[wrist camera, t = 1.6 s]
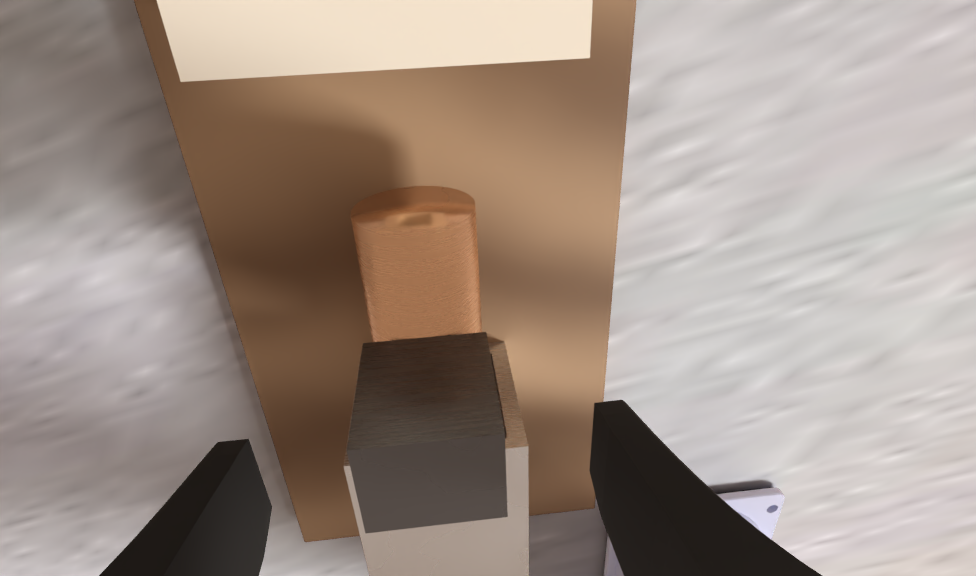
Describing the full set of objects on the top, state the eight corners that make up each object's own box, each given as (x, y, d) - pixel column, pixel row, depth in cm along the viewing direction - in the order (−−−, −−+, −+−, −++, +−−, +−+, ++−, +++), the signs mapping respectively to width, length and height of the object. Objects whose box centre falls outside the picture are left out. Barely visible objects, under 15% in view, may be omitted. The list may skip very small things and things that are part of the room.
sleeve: (509, 501, 23) (529, 620, 19) (390, 515, 23) (384, 638, 18) (504, 341, 19) (528, 446, 15) (360, 354, 19) (343, 466, 14)
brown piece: (489, 516, 22) (514, 708, 16) (411, 526, 21) (408, 723, 16) (470, 182, 15) (501, 310, 9) (356, 190, 15) (317, 326, 9)
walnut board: (588, 489, 24) (594, 508, 24) (309, 521, 24) (304, 542, 23) (637, -191, 13) (652, -203, 12) (99, -177, 12) (74, -189, 11)
